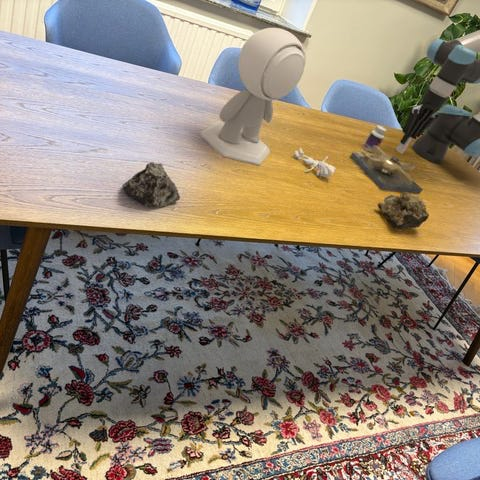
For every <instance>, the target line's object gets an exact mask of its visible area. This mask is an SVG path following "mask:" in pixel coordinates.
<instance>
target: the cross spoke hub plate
mask: <svg viewBox="0 0 480 480" xmlns="http://www.w3.org/2000/svg"><path fill="white" fill-rule="evenodd" d="M370 157H372V158H379V157H378V156H377V155H376V156H375V155H370V154H369V153H368V152H363V151H357V150H356V151H355V152H351V154H350V156H349V158H350V159H351V161H353V162H354V163H355V164H356V165H357V167H359V169H360V170H361V171H362V172H363V173H364V174H365V175H366V176H367V177H368V178H369V179H370V180H371V181H372V182H373V183H374V184H375V186H377V187H378V188H379V189H380V191H387V192H400V193H404V194H405V193H408V194H414V195H416V194H417V195H420V194H421V192H422V191H423V187H421V186H420V185H419V184H418V183H417V182H416V181H415V180H414V181H413V183H412V184H411V185H407V184H406V183H405V182H404V181H403V180H402V179H401V178H400V177H399V176H398V175H396V174H395V175H390V174H387V173H385V172H383V171H382V170H380V169H379V168H378V167H377V166H372V165H369V164H368V163H367V161H368V159H369V158H370Z"/></svg>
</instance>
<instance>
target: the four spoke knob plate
mask: <svg viewBox="0 0 480 480" xmlns="http://www.w3.org/2000/svg"><path fill="white" fill-rule="evenodd" d="M371 150H372V151H373V152H374V153H373V154H375V155H376V156H377V157H379V158H372V157H370V158H369V159H368V161H367V163H368V164H369V165H372V166H377V167H378V168H379V169H380V170H382V171H383V172H385V173H387V174H390V175H395V174H396V175H398V176H399V177H400V178H401V179H402V180H403V181H404V182H405V183H406V184H407V185H411V184H412V183H413V181H414V182H415V179H414V178H412V177H411V176H410V174H408V173H407V172H406V171H409V172H413V170H414V169H415V168H416V166H415V165H414V164H413V163H410V162H402V161H400V160H399V159H398V158H397V157H396V156H392V155H391V156H390V155H388V154H387V153H386V152H385V151H384V150H382V148H380V146H379V147H378V146H375V145H374V146H373V147H372V149H371Z"/></svg>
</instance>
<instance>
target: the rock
mask: <svg viewBox="0 0 480 480" xmlns="http://www.w3.org/2000/svg"><path fill="white" fill-rule="evenodd" d="M171 179H172V178H171V177H169V175H168V174H167V172H166V171H165V168H164V166H163V163H155V162H154V161H151V162H148V163H147V164H146V166H145V168H144V169H142V170H140V171H138V172H136V173H134V175H133V176H132V177H131V178H130V179H128V180H127V181H126V182H124V184H122V191H124V192H125V194H127V195H128V196H130V197H132V198H134V199H135V200H136V201H138V202H140V204H141V205H142V206H146V207H148V206H151V207H154V208H162V207H165V206H168V205H170V204H171V203H176V202H177V201H180V200H181V196H180V194H179V190H178V188H177V186H176V184H175V182H174V181H173V180H171Z"/></svg>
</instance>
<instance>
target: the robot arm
mask: <svg viewBox="0 0 480 480" xmlns="http://www.w3.org/2000/svg"><path fill="white" fill-rule="evenodd" d="M479 53H480V29H479V30H477V31H473V32H471V33H468V34H465V35H462V36H461V37H458V38H454V39H453V40H450V41H446V40H445V39H444V40H443V39H441V38H438V39H435V40H433V42H432V43H431V44H430V45H429V46H428V48H427V52H426V57H427V59H428V60H430V61H431V62H432V64H435V65H436V66H439V67H440V69H439V70H438V72H437V74H436V75H435V77H434V78H433V80H432V81H431V83H430V85H429V88H427V89H426V90H425V92H424V93H423V95H422V97H421V99H422V100H421V102H420V103H419V104H418V105H417V106H416V107H415V106H414V105H413V106H411V108H410V112H409V115H408V117H407V119H406V121H405V123H404V125H403V128H402V132H403V134H404V135H403V136H402V137H401V139H400V141H399V143H398V145H397V146H396V148H395V150H396V151H397V152H398V153H399V154H404V152H405V151H406V149H407V148H408V146H409V145H410V144H411V143H412V142H413V140H415V141H414V142H413V143H412V145H411V148H412V150H413V151H414V152H415V153H416V154H418V155H419V156H420V157H422V158H424V159H425V160H426V161H430V162H433V163H434V164H443V162H444V160H445V158H446V155H447V153H448V150H449V148H450V145H451V144H453V145H455V146H456V147H458V148H459V149H460V150H462V151H463V152H464V153H465V154H467V155H469V156H470V157H472V158H478V157H480V113H478V114H475V115H474V114H473V116H472V113H471V112H470V111H468V110H465V109H463V108H461V107H458V106H455V105H452V104H445V103H446V102H447V100H448V97H450V96H451V95H452V93H453V92H454V90H455V88H456V87H457V85H458V84H459V82H460V81H462V82H466V83H467V84H469V85H470V84H472V85H473V84H474V85H476V84H480V59H478V58H476V57H477V54H479ZM438 109H440V110H439V111H438ZM437 112H438V113H437Z"/></svg>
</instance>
